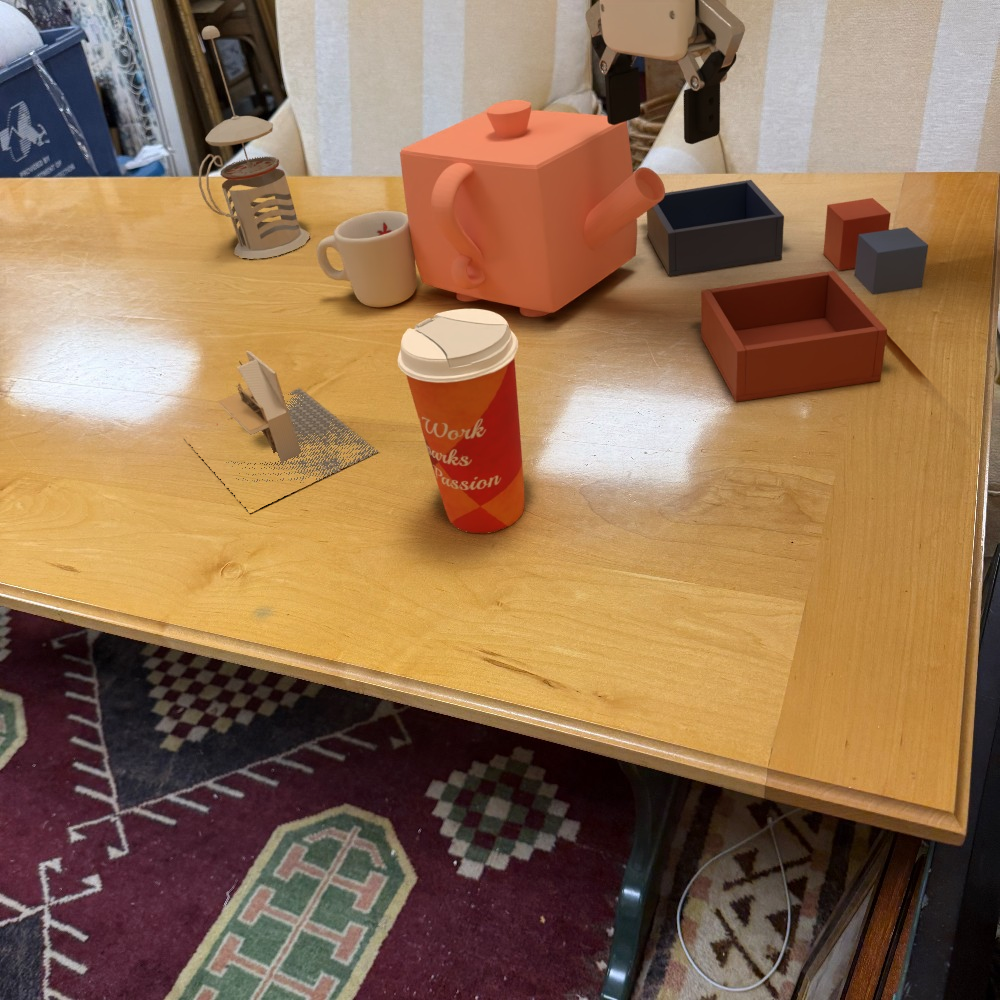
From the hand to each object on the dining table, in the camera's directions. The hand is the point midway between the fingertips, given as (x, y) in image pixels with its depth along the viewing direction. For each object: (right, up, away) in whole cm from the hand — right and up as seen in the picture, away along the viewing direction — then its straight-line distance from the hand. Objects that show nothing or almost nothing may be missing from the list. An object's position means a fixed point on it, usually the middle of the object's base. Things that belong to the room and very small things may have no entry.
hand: (661, 129), depth 75 cm
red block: (+21, -7, +14) cm, 27 cm away
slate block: (+22, -12, +8) cm, 26 cm away
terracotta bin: (+11, -19, +1) cm, 22 cm away
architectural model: (-32, -26, +1) cm, 41 cm away
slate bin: (+9, -4, +21) cm, 23 cm away
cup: (-27, -9, +22) cm, 36 cm away
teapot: (-8, -9, +18) cm, 21 cm away
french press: (-43, +1, +39) cm, 58 cm away
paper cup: (-14, -31, -10) cm, 36 cm away
